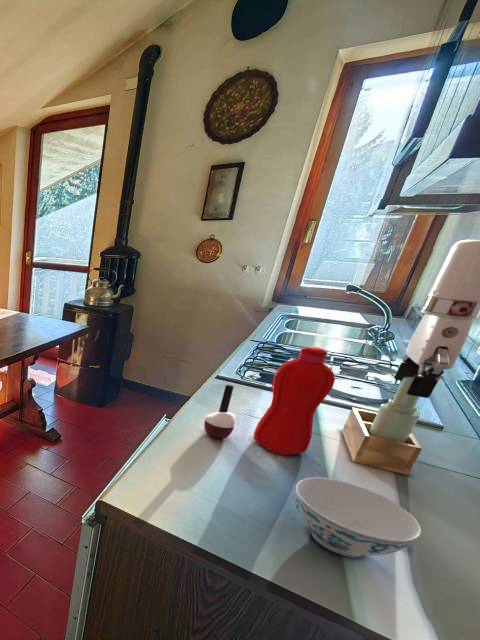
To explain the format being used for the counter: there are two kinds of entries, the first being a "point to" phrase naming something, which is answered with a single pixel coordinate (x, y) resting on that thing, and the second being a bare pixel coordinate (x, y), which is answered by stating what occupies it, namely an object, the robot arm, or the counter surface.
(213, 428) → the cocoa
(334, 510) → the chinaware
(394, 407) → the bottle
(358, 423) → the box
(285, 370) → the red plastic tall container
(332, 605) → the counter surface
